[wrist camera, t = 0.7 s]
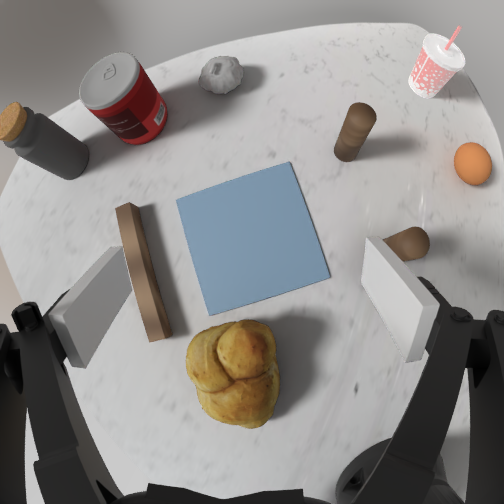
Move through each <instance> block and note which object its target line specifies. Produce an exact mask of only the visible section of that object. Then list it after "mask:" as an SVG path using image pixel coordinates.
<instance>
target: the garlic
mask: <svg viewBox="0 0 504 504" xmlns="http://www.w3.org/2000/svg"><path fill="white" fill-rule="evenodd" d="M243 75H244V71H243V68H242V66H241V65H240V64H239V61H238V59H237V58H235V57H229V56H219V57H215V58H213V59H211V60H209V61H208V62H207V63H206V65H205V66H204V67H203V68H202V74H201V76H200V78H199V84H200V86H201V87H202V88H204V89H205V90H207V91H212V92H214V93H216V94H218V93H220V94H222V93H225V94H227V93H228V92H229V91H231V90H234V89H235V88H236V87H237V86H238V85H240V84H241V79H242V78H243Z"/></svg>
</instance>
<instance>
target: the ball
mask: <svg viewBox="0 0 504 504" xmlns="http://www.w3.org/2000/svg"><path fill="white" fill-rule="evenodd" d="M454 166H455V170H456V172H457V174H458V176H459V177H460V178H461V179H462V180H463V181H464V182H466V183H468V184H471V185H479V184H482V183H484V182H485V181H486V180H487V179H488V178H489V176H490V174H491V170H492V162H491V158H490V155H489V154H488V152H487V151H486V149H485V148H484V147H482V146H481V145H479V144H477V143H472V142H470V143H465V144H463V145H461V146H460V147H459V148H458V150H457V151H456V153H455V157H454Z"/></svg>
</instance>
